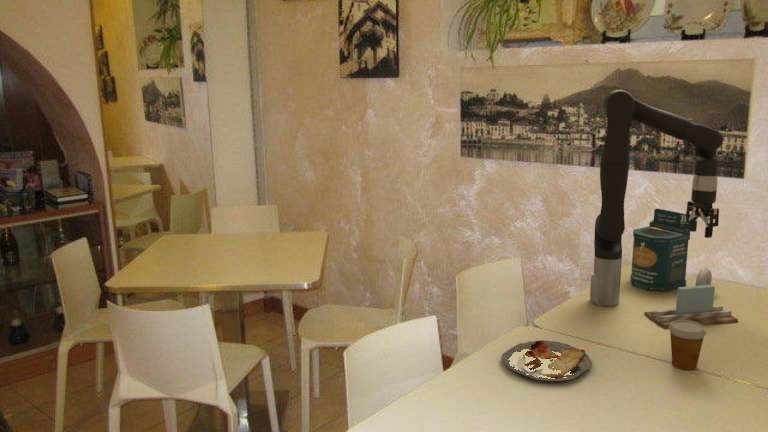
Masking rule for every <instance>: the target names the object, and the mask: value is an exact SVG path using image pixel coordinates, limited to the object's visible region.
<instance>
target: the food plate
mask: <svg viewBox="0 0 768 432" xmlns="http://www.w3.org/2000/svg"><path fill="white" fill-rule="evenodd" d="M523 349H529V350H531V351H527V352H526V353H525V355H526V356H528V357H533V358H536V359H535V360H533V361H530V362H529V363H527V364H526V363H524V365H525V366H527V367H528V366H529V365H530V366H531V365H534V366H533V367H532V368H529V369H530V370H532V369H533V370H534V369H536V368H538V367H540V366H541V364H543V363H541V361H540V360H539V359H538V358H541V359H551V358H557V359H556V360H554V362H552V363H551V364H549V365H548V368H549V369H552V370H553V371H554V370H555V369H556V371H557V370H561V373H558V375H557V374H552V373H551V374H543V373H540V372H538V374H539V375H543V376H547V377H551V378H555V379H551V378H550V379H548V378H542V377H539V378H538V377H537V376H538V375H535V376H536V377H537V378H536V377H534V376H532V375H533V374H532V375H526V373H527V372H526V371H524V370H522V371H520V370H519V369H518V370H516V369H514V368H515V367H514V366H515V365H514V366H513V367H512V366H510V364H509V362H510V360H508V359H509V358H510V357H511V356H512V354H513V353H514V352H516V351H517V352H521V350H523ZM552 351H554V352H559V353H561V356H558V355H556V354H555V353H553V352H552ZM501 361H502V363H503V364H505V365H506V367H507V368H508V369H510V370H512V371H513V372H515V373H517V374H520V375H523V376H525V377H528V378H531V379H534V380H538V381H550V382H551V381H552V382H555V381H556V382H557V381H558V382H559V381H569V380H574V379H576V378H577V377H579V376H580V375H582V374H584V373H585V372H586V371H588V370H589V369H590V368H592V366H593V362H592V359H590V356H589V355H588V354H587V353H586V350H585V349H580V348H576V347H575V346H572V345H570V344H567V343H564V342H559V341H551V340H543V339H541V340H534V341H533V340H532V341H530V340H529V341H527V342H520V343H517V344H516V345H514V346H512V347H510V348H509V349H508V350H506V351H505V352H503V353H502V355H501ZM552 367H554V368H552ZM523 371H524V372H523ZM569 371H571V372H570V374H572V375H566V376H564V375H565V374H566V373H567V372H569ZM525 372H526V373H525ZM573 374H574V375H573ZM563 377H567V378H563Z"/></svg>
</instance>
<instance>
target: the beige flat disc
mask: <svg viewBox="0 0 768 432" xmlns="http://www.w3.org/2000/svg"><path fill="white" fill-rule="evenodd" d="M712 277H713V275H712V271H711V270H710V269H709V268H701V269H700V270H699V271H698V273H697V275H696V279H695V286H703V285H712Z"/></svg>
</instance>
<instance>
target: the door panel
mask: <svg viewBox="0 0 768 432" xmlns="http://www.w3.org/2000/svg"><path fill="white" fill-rule="evenodd" d="M715 290H716V286H714V285H712V284H711V285H703V286H696V285H693V286H692V285H691V286H685V287H678V289H677V291H676V292H677V293H676V294H677V295H676V305H675V309H676V315H679V314H691V313H703V312H713V306H714V299H715Z"/></svg>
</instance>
